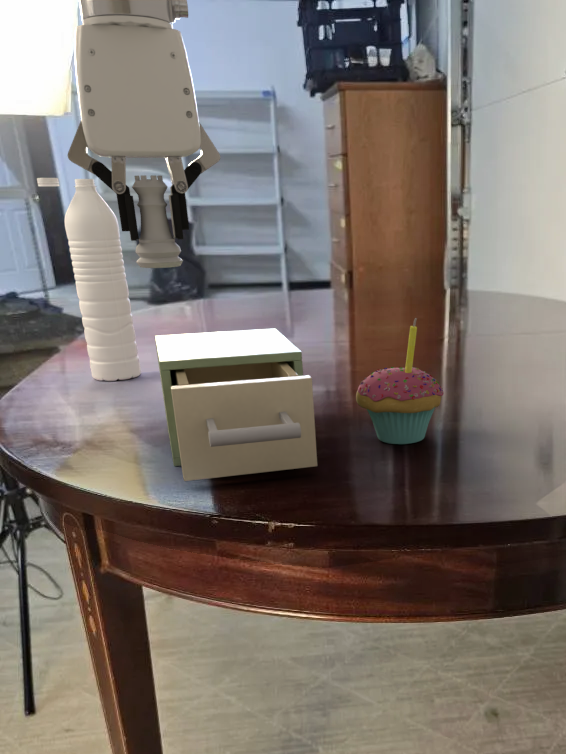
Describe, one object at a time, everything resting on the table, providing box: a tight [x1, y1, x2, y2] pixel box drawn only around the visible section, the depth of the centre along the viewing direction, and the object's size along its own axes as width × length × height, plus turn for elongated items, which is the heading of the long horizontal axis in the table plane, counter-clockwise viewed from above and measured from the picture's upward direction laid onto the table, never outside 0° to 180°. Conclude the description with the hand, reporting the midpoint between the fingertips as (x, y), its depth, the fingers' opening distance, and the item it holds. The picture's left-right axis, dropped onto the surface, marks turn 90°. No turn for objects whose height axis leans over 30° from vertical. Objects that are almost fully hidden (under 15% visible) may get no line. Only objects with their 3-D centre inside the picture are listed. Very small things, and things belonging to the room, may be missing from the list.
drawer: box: [171, 362, 318, 482], centre depth 68 cm, size 19×11×8 cm, turn 18°
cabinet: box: [154, 327, 304, 467], centre depth 77 cm, size 15×13×10 cm
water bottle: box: [36, 177, 142, 382], centre depth 102 cm, size 9×6×25 cm
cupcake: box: [355, 317, 444, 445], centre depth 76 cm, size 9×8×12 cm
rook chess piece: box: [131, 174, 184, 269], centre depth 74 cm, size 4×4×8 cm
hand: (156, 237), depth 74 cm, fingers closed on rook chess piece, 3 cm apart
